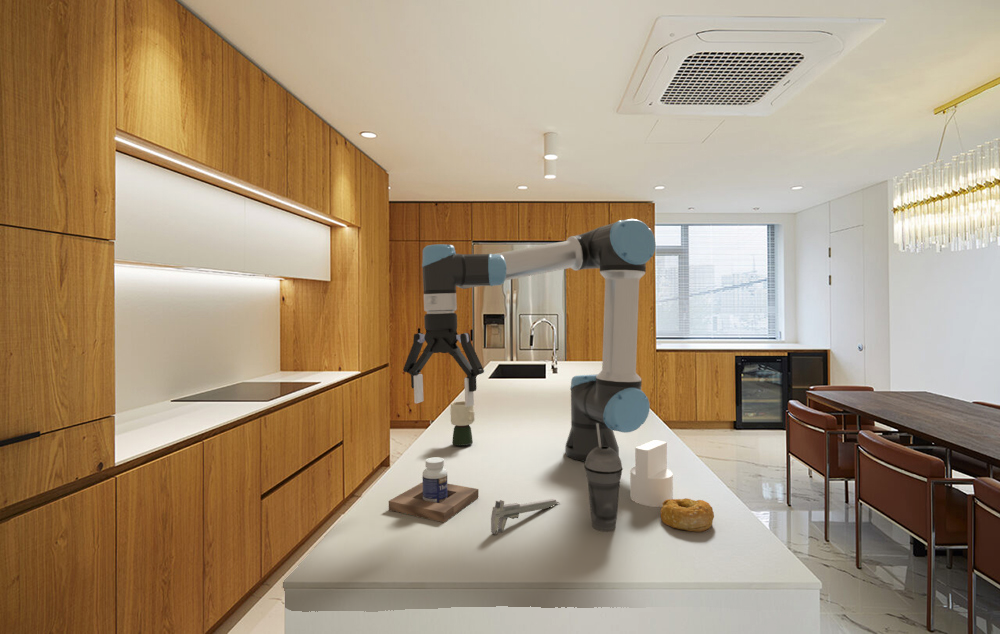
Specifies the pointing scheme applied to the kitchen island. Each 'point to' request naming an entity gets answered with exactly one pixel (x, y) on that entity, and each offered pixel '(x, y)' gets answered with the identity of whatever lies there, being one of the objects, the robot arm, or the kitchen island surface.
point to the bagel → (687, 514)
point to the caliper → (514, 512)
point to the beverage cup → (603, 485)
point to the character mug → (462, 423)
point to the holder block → (442, 511)
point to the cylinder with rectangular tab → (651, 475)
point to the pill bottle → (435, 480)
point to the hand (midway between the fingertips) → (443, 404)
